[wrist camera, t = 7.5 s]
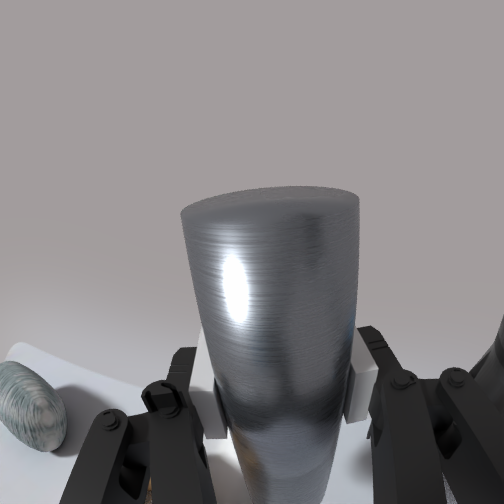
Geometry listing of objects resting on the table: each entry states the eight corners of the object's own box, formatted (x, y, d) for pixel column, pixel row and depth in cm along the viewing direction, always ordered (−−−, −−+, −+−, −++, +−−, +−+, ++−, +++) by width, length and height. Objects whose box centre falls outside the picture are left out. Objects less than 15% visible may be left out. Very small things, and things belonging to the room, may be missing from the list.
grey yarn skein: (-19, 400, 22) (-24, 340, 22) (33, 393, 31) (36, 339, 30) (23, 478, 16) (12, 421, 16) (83, 459, 25) (88, 405, 24)
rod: (319, 455, 15) (330, 182, 9) (331, 512, 11) (391, 212, 5) (249, 463, 15) (196, 195, 9) (250, 521, 11) (158, 235, 5)
